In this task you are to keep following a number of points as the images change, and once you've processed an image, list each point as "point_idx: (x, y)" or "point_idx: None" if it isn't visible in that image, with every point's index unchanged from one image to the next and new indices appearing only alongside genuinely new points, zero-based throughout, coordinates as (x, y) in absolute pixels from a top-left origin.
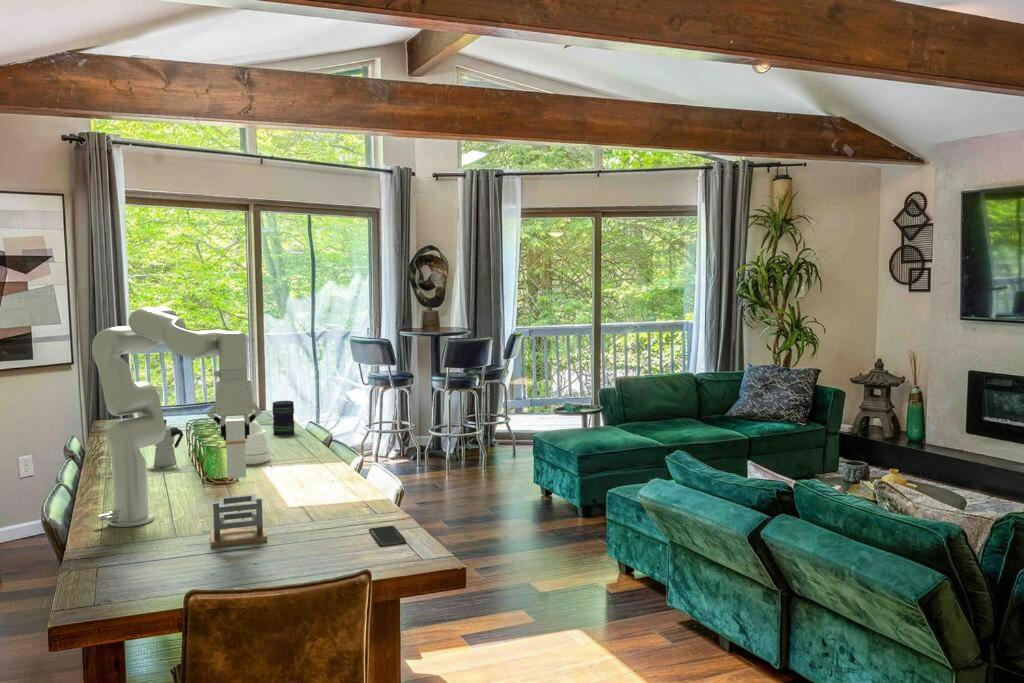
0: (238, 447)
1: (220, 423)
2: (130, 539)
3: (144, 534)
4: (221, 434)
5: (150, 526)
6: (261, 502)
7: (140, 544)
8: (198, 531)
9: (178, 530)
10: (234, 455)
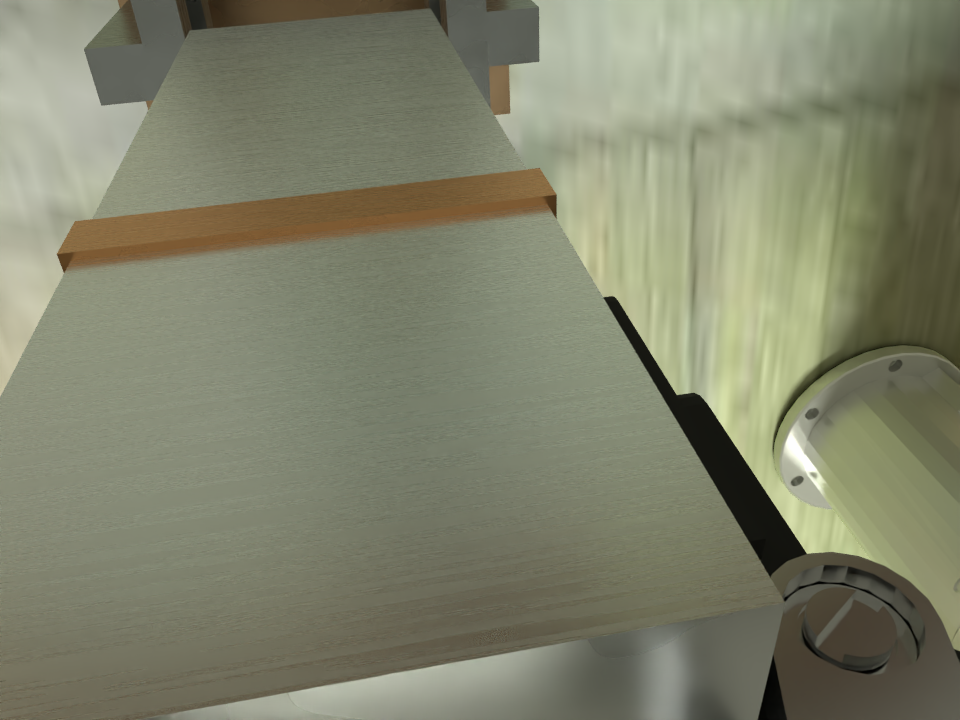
0: (260, 178)
1: (912, 653)
2: (918, 150)
3: (843, 220)
4: (703, 420)
5: (800, 341)
6: (95, 39)
7: (889, 40)
8: (576, 206)
9: (678, 249)
10: (346, 113)
